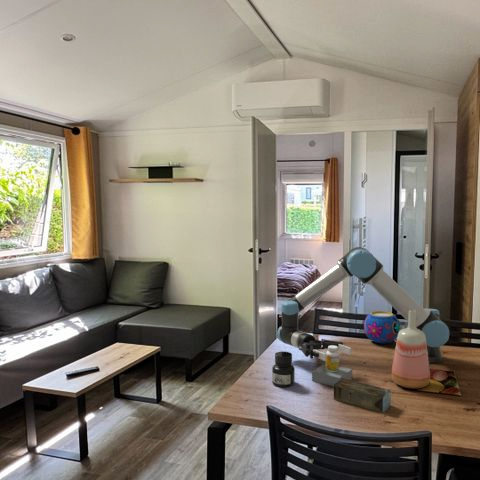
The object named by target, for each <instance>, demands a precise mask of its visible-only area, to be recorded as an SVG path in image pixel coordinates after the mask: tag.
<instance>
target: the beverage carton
mask: <svg viewBox="0 0 480 480" xmlns="http://www.w3.org/2000/svg"><path fill="white" fill-rule="evenodd" d="M391 397H392V391H391V390H390V389H387V388H384V387H383V388H382V387H379V386H375V385H372V384H369V383H364V382H361V381H357V380H353V379H351V380H349V379H345V378H342V379H341V380H339V381H338V382H337V383H335V384H334V386H333V400H336V401H340V402H342V403H347V404H350V405H353V406H356V407H360V408H365V409H369V410H372V411H375V412H378V413H379V412H380V413H385V412H386V411H387V409H388V408H389V407H390V406H391V403H392V402H391V401H392V398H391Z"/></svg>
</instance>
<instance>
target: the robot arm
mask: <svg viewBox="0 0 480 480" xmlns="http://www.w3.org/2000/svg"><path fill="white" fill-rule="evenodd" d="M353 276H355V278H357V279H358V280H359V281H360V282H361V283H362V284H363V285H369V286H370V287H371V288H372V289H373V290H374V291H375V292H376V293H378V294H379V295H380V296H381V297H382V298H383V299H384V300H385V301H386V302H387V303H388V304H389V305H390V306H391V307H392V309H394V310H395V311H396V312H397V313H399V315H401V316H402V318H403V319H404V320H406V321H407V322H408V316H409V310H414V311H416V328H417V329H419V330H421V331H423V332H424V334H425V336H426V344H427V352H428V361H429V364H437V363H440V362H442V361H443V353H442V350H441V347H442V346H444V345H445V344H446V343H447V342H448V340H449V337H450V330H449V327H448V325H447V324H446V323H445V322H444V321H442V320H441V319H440V316H441V314H440V310H438V309H435V308H423V307H422V305H420V303H418V302H417V301H416V300H415V299H414V298H413V297H412V296H411V295H410V294H409V293H407V292H406V291H405V289H404V288H402V287H401V286H400V285H399V284H398V283H397V282H396V281H395V280H394V279H393V278H392V277H391V276H390V275H389V274H388V273H387V272H385V270H384V265H383V264H382V263H381V262H380V260H378V259H377V258H376V257H375V256H374V255H373V254H372V253H371V252H370V251H369V250H368V249H366V248H364V247H360V246H358V247H354V248H352V249H350V250H349V251H348V252H347V253H346V254H345V255H343V256H342V257H341V258H340V259H338V260H337V264H335V265H334V266H333V267H331V268H330V269H329V270H328V271H326V272H325V273H324V274H322V275H321V276H319V277H318V278H317V279H315V280H314V281H313V282H311V283H310V284H309V285H307V286H306V287H304V289H302V290H300V291H299V292H298V293H297V294H295V295H294V296H293V297H292V298H289V299H287V300H286V301H283V302H282V303H281V309H280V311H281V326H279V328H278V329H277V331H276V336H277V337H276V338H277V339H278V340H279V341H280V342H282V343H283V344H286V345H290V346H291V347H293V348H297V349H298V350H299V351H301V352H302V354H304V356H305V357H307V358H308V357H309V358H310V359H313V358H314V357H315V358H317V359H318V360H319V359H320V360H321V361H324V362H326V353H325V352H322V351H323V350H325V349H326V350H328V346H330V345H334V346H337V347H338V351H337V352H341V353H344V354H346V355H349V356H350V355H352V347H349V346H347V345H344V343H343V342H342V341H335V340H329V339H325V338H321V340H319V339H316V337H315V336H314V335H312V334H310V333H308V332H305V331H302V330H299V313H301V312H302V311H304V309H306V308H307V307H309V306H310V305H311V304H313V303H314V302H315V301H317V300H318V299H319V298H321V297H322V296H324V295H325V294H327V293H328V292H329V291H330V290H332V289H333V288H335V287H336V286H338V284H340V283H341V282H343V281H344V280H346V278H352V277H353ZM320 350H322V351H320Z"/></svg>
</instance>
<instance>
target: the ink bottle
mask: <svg viewBox="0 0 480 480" xmlns="http://www.w3.org/2000/svg"><path fill="white" fill-rule="evenodd" d="M292 361H293V353H292V352H290V351H282V350H281V351H277V352H275V353H274V365H273V366H272V369H271V372H272V373H271V375H272V377H271V378H272V379H271V381H272V384H273V385H274V386H277V387H280V388H288V387H292V386H294V384H295V380H296V379H295V377H296V376H295V375H296V374H295V373H296V371H295V366H294V365H293V364H292V363H293V362H292Z"/></svg>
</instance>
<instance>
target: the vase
mask: <svg viewBox="0 0 480 480" xmlns="http://www.w3.org/2000/svg"><path fill="white" fill-rule="evenodd" d="M393 355H394V356H393V361H392V366H391V373H390V374H391V379H392V381H393V382H394V383H395V384H397V385H399V386H400V387H402V388H406V389H422V388H425V387H426V386H428V385H429V383H430V381H431V371H430V363H429V361H428V352H427V344H426V336H425V334H424V332H423V331H421V330H419V329H417V328H416V311H414V310H409V316H408V321H407V327H406V328H405V327H404V328H402V329H400V331H399V333H398V336H397V337H396V345H395V348H394V354H393Z"/></svg>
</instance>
